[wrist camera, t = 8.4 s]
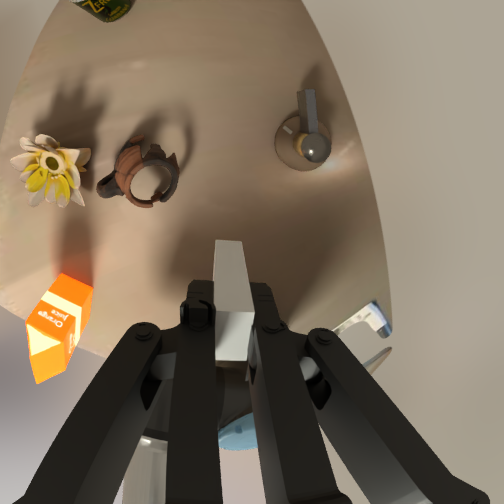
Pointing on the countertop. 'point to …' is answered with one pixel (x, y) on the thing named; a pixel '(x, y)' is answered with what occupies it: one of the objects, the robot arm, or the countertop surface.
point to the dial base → (286, 148)
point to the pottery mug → (130, 165)
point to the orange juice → (57, 326)
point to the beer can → (105, 8)
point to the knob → (310, 130)
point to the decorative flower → (51, 171)
